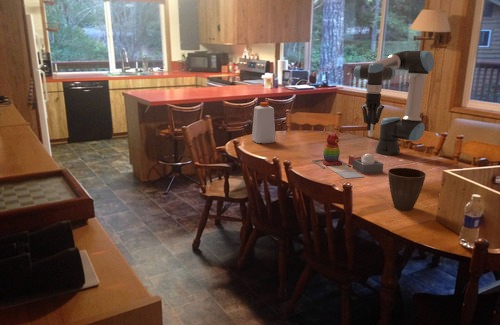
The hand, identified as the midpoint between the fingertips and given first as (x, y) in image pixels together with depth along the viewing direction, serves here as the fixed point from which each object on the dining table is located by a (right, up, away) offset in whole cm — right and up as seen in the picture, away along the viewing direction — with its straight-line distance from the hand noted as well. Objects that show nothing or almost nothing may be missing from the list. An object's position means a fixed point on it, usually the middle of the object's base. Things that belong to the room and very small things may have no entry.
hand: (370, 135), depth 233 cm
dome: (0, -17, +5) cm, 18 cm away
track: (-15, -18, +9) cm, 25 cm away
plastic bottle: (-56, +1, +75) cm, 94 cm away
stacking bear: (-18, -16, +18) cm, 30 cm away
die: (-4, -16, +17) cm, 24 cm away
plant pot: (0, -34, -49) cm, 60 cm away
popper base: (0, -19, +5) cm, 20 cm away
